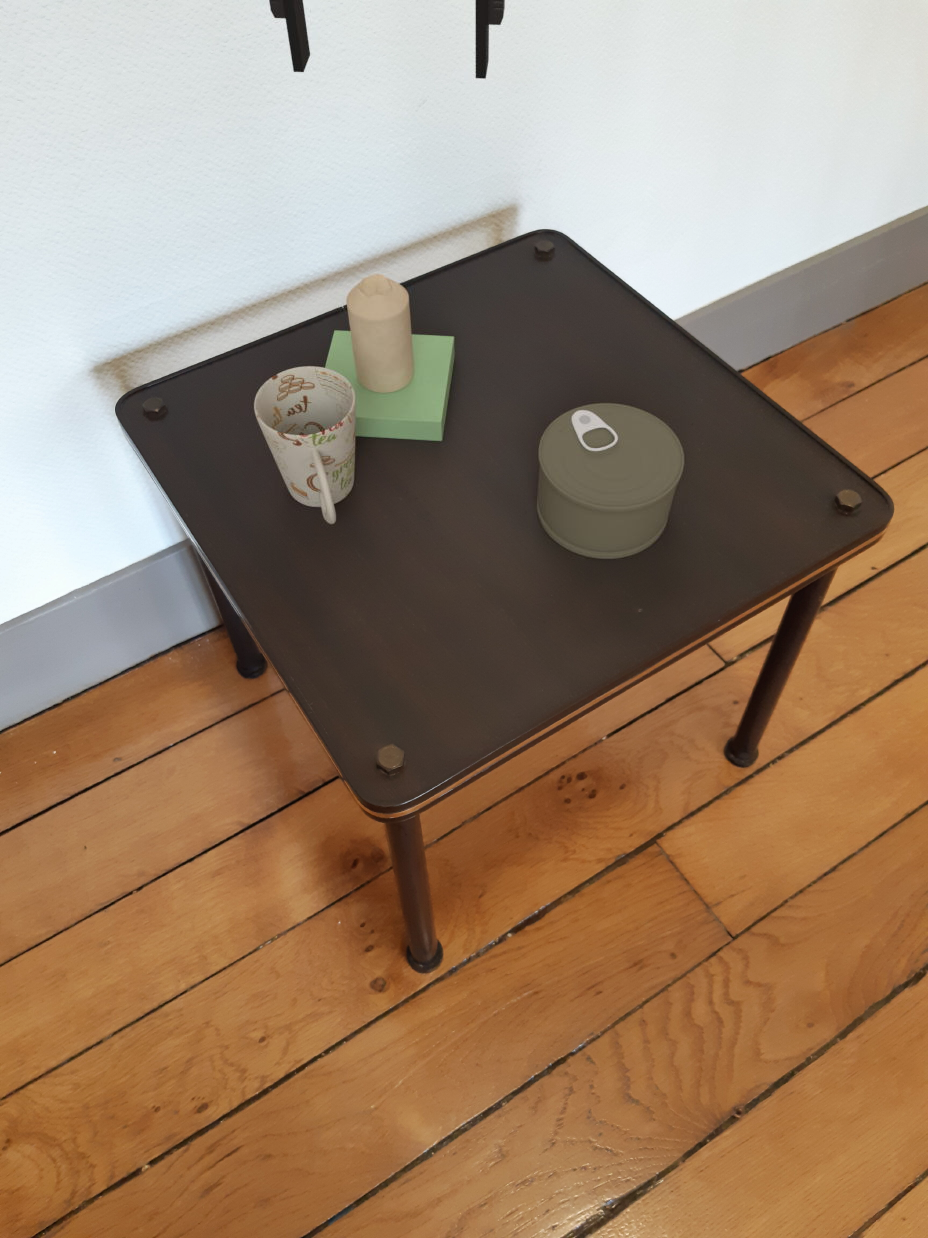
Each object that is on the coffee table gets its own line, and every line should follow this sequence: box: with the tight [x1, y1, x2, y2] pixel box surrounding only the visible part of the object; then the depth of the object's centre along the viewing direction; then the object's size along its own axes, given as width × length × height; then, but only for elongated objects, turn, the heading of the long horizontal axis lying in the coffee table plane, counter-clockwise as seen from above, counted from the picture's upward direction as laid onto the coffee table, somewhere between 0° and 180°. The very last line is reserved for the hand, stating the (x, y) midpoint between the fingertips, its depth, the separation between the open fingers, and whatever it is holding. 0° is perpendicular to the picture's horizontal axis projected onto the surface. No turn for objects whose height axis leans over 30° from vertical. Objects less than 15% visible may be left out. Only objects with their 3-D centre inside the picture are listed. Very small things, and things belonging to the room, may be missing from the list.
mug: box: [253, 365, 356, 525], centre depth 80 cm, size 8×13×10 cm, turn 18°
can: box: [536, 402, 685, 560], centre depth 81 cm, size 12×12×7 cm
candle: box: [346, 273, 414, 393], centre depth 86 cm, size 6×6×10 cm
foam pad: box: [324, 329, 456, 442], centre depth 91 cm, size 12×12×2 cm
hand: (391, 66), depth 70 cm, fingers open, 13 cm apart
